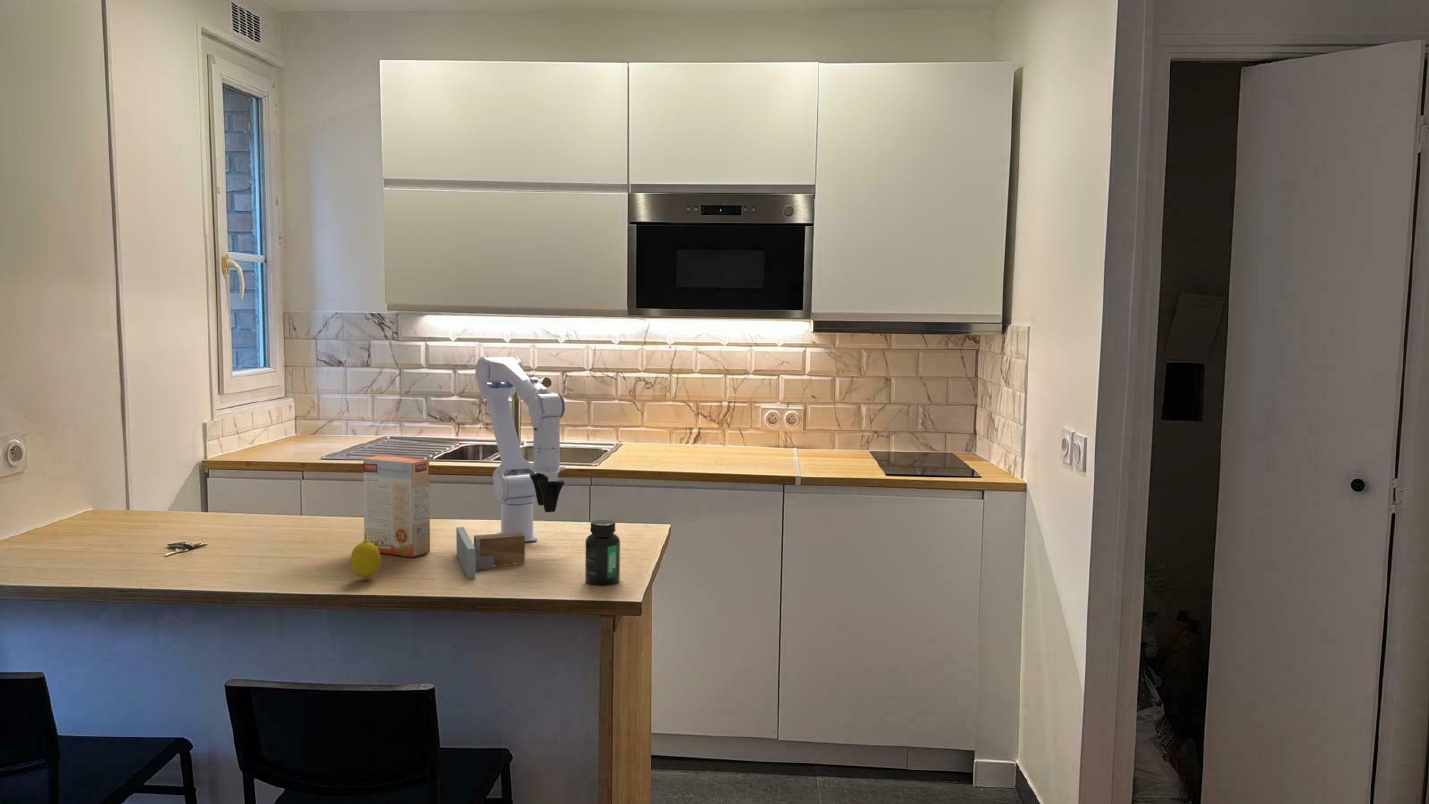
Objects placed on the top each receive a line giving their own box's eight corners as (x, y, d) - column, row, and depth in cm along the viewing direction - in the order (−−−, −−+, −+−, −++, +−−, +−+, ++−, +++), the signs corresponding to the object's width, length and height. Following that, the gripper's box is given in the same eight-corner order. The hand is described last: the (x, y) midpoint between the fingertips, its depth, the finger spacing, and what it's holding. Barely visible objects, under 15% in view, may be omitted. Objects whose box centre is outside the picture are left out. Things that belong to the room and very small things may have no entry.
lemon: (355, 576, 188) (354, 537, 187) (384, 576, 188) (383, 537, 187) (347, 584, 182) (346, 543, 181) (376, 584, 183) (375, 543, 182)
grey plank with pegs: (456, 554, 206) (456, 527, 205) (484, 552, 208) (484, 525, 208) (467, 578, 187) (467, 549, 187) (498, 576, 190) (498, 546, 189)
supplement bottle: (620, 585, 185) (621, 525, 183) (585, 586, 183) (586, 526, 182) (618, 576, 191) (619, 518, 190) (584, 577, 190) (585, 518, 189)
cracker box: (431, 552, 207) (430, 458, 205) (412, 559, 201) (411, 462, 199) (383, 545, 213) (382, 453, 211) (363, 551, 207) (361, 457, 205)
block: (473, 563, 199) (473, 535, 199) (521, 559, 203) (521, 532, 203) (476, 567, 196) (476, 539, 195) (524, 563, 200) (524, 535, 199)
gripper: (571, 451, 202) (571, 513, 203) (557, 442, 215) (557, 501, 216) (539, 452, 199) (539, 515, 200) (526, 443, 213) (526, 502, 214)
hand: (546, 508), depth 208 cm, fingers open, 7 cm apart
